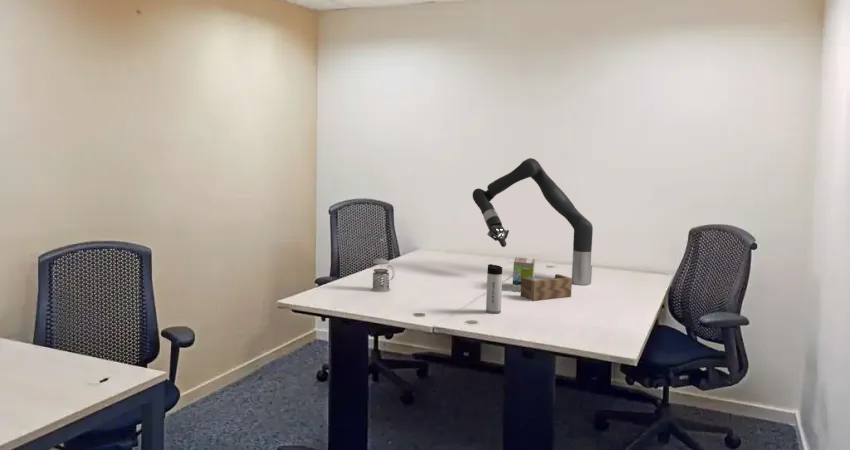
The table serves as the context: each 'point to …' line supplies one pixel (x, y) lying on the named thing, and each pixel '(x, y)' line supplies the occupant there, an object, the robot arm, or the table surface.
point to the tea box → (522, 271)
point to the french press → (381, 276)
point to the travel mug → (494, 289)
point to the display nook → (546, 288)
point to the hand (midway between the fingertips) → (504, 246)
